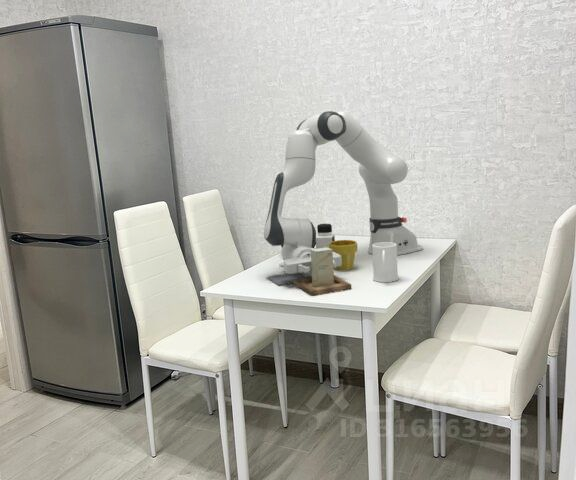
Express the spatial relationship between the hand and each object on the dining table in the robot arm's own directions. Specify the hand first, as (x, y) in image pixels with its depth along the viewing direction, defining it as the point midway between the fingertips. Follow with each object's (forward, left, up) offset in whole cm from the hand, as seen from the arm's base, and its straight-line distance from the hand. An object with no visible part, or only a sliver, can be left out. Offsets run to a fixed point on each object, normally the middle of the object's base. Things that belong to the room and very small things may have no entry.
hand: (321, 267), depth 189 cm
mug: (-21, +4, -7) cm, 23 cm away
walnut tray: (0, -1, -7) cm, 7 cm away
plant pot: (-17, -19, -7) cm, 26 cm away
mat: (+6, -16, -7) cm, 18 cm away
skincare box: (-1, 0, -6) cm, 6 cm away
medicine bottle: (-23, -49, -7) cm, 54 cm away
